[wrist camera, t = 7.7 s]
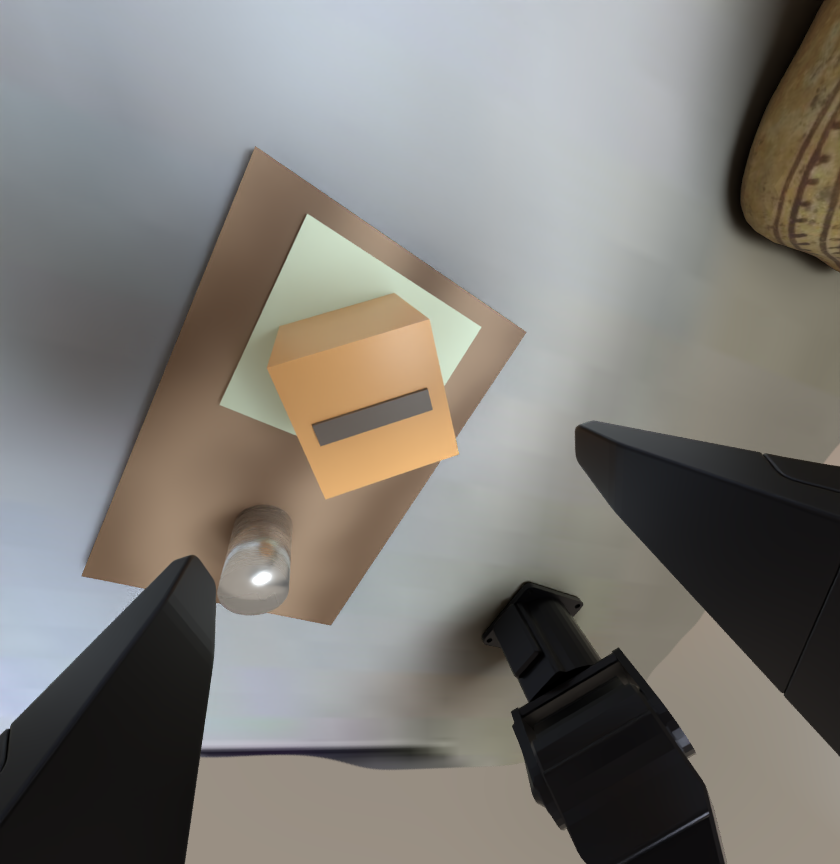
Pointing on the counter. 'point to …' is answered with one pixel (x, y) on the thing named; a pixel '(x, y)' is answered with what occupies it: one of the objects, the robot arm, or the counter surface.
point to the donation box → (363, 392)
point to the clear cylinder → (257, 561)
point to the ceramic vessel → (801, 149)
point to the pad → (323, 292)
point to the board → (259, 442)
